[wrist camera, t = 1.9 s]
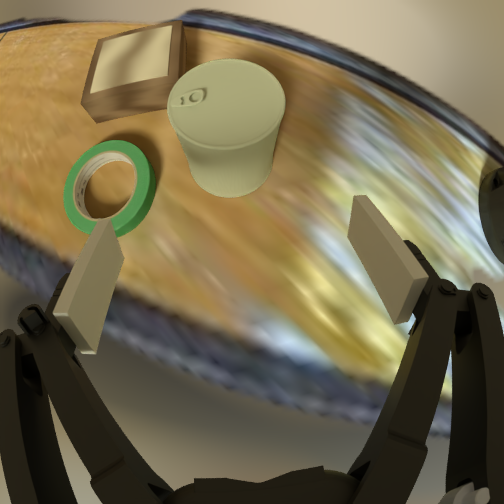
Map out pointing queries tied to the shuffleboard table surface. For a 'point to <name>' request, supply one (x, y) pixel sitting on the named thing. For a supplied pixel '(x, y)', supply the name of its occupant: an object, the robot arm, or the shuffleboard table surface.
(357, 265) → the shuffleboard table surface
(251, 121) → the can
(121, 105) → the plinth
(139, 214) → the tape roll
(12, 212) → the shuffleboard table surface
